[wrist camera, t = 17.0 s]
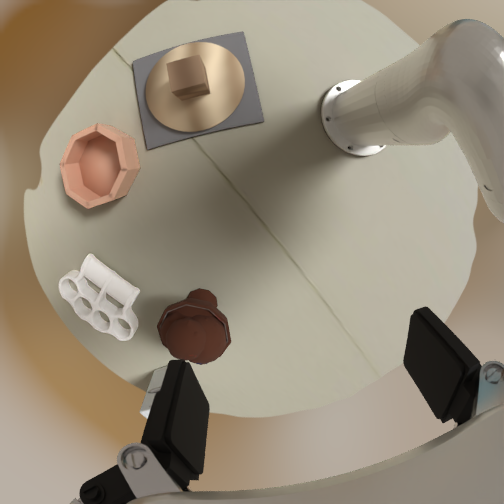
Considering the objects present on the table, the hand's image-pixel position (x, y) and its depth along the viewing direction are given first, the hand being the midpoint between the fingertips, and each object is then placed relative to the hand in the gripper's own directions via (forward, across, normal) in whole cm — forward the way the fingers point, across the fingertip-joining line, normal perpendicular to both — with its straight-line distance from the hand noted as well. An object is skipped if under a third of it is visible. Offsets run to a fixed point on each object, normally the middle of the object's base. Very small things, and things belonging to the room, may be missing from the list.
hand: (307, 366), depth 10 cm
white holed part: (+34, +32, +10) cm, 48 cm away
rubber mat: (+33, +6, -21) cm, 40 cm away
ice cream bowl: (+34, +13, +14) cm, 39 cm away
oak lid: (+33, +6, -21) cm, 39 cm away
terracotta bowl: (+33, +23, -13) cm, 43 cm away
